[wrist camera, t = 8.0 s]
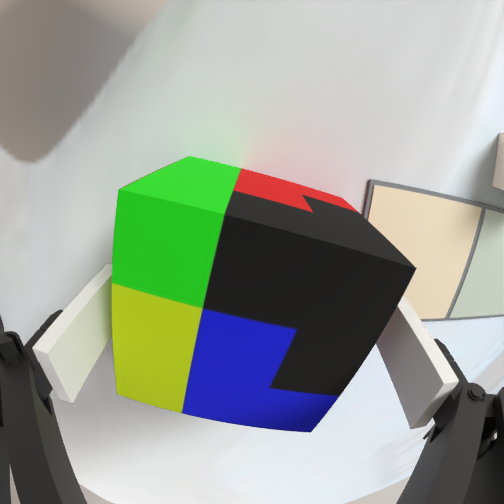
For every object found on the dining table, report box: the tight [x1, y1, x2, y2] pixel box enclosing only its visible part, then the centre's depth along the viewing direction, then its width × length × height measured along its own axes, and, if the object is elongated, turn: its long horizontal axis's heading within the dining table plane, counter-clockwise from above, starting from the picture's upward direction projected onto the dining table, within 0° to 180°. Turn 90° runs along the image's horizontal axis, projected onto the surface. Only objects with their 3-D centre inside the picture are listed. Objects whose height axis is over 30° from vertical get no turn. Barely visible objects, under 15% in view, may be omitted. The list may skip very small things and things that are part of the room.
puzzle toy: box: [112, 156, 417, 432], centre depth 15 cm, size 10×10×10 cm
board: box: [363, 179, 504, 321], centre depth 20 cm, size 22×11×1 cm, turn 86°
